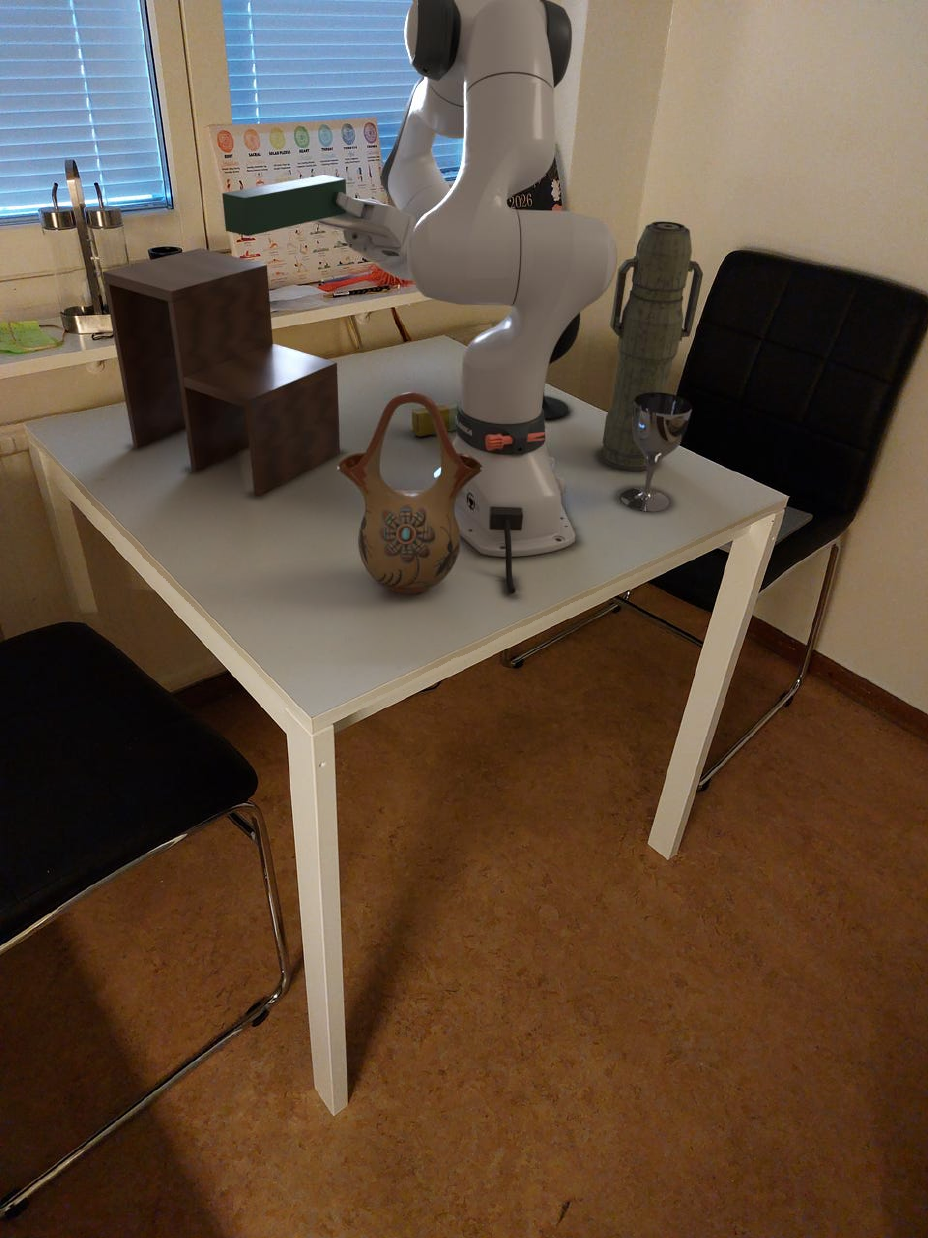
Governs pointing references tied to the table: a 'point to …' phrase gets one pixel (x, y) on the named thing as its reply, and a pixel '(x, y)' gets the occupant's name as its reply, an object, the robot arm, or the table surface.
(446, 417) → the medication box
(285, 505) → the table surface
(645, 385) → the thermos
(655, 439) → the wine glass
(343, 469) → the ceramic vessel
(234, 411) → the step shelf
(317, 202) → the carton
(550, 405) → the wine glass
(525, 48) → the robot arm
